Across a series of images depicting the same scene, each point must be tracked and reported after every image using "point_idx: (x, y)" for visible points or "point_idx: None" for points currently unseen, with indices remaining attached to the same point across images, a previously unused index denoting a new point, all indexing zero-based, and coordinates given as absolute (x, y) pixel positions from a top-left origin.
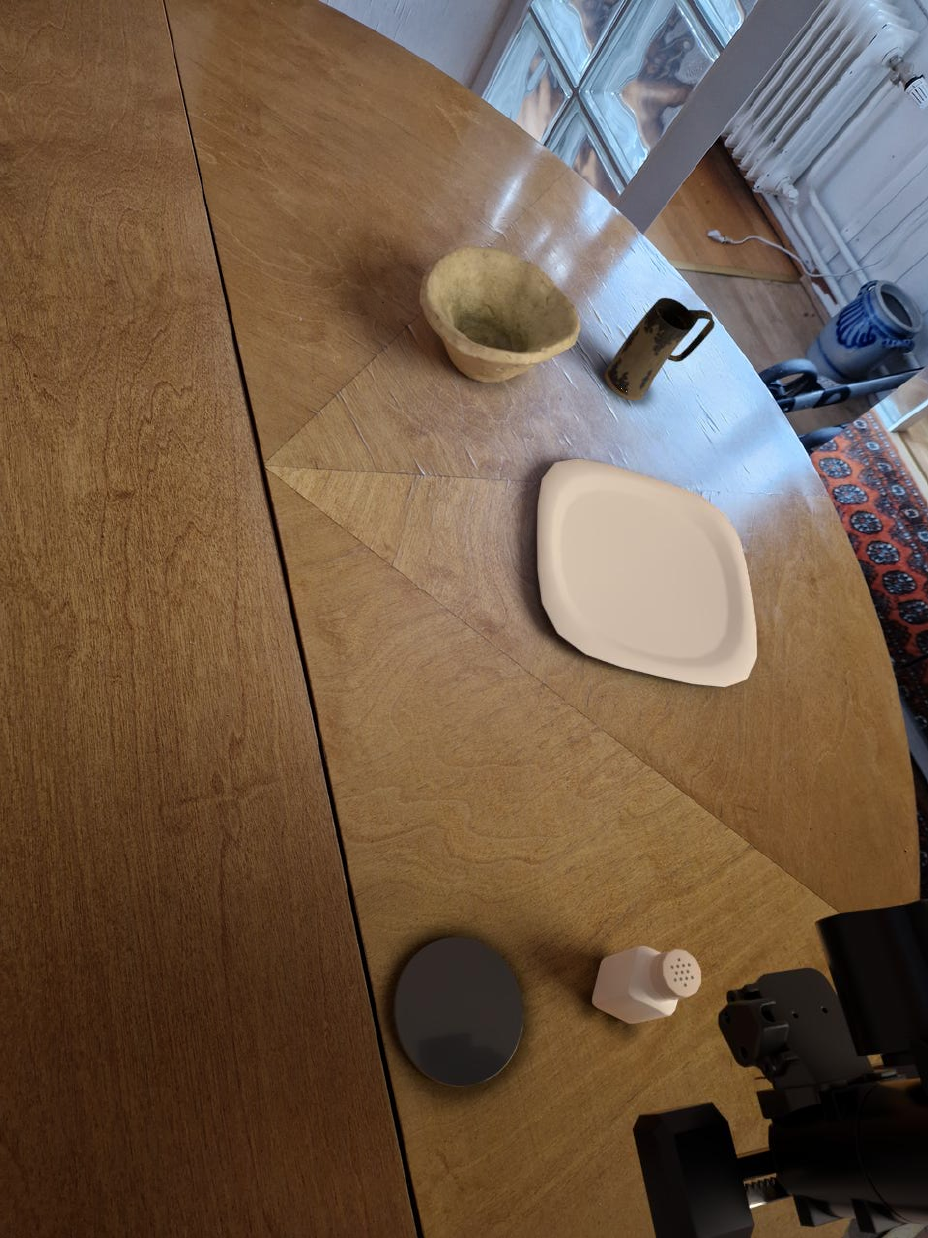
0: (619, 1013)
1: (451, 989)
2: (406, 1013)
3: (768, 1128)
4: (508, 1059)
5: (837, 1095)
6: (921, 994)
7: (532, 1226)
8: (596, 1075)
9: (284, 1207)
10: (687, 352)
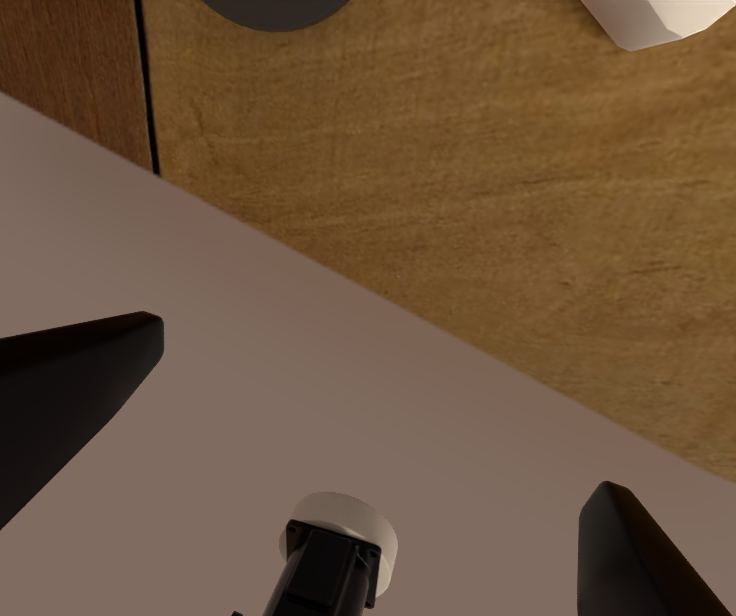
0: (594, 5)
1: None
2: None
3: (602, 483)
4: (325, 9)
5: None
6: None
7: (295, 248)
8: (490, 115)
9: (8, 75)
10: None
